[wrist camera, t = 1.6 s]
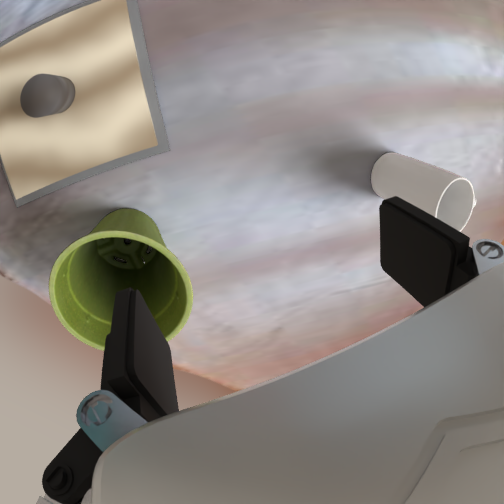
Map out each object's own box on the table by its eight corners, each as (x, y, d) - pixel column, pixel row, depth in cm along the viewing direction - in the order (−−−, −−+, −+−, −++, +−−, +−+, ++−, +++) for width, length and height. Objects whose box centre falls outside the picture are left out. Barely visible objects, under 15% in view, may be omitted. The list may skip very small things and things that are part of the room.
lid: (-15, 61, 18) (-46, 58, 12) (125, -4, 20) (117, -26, 15) (20, 196, 26) (-5, 218, 21) (158, 143, 28) (156, 154, 23)
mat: (-21, 58, 17) (-23, 57, 17) (134, -13, 20) (134, -15, 20) (18, 206, 27) (16, 207, 26) (170, 149, 29) (170, 150, 29)
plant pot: (89, 290, 34) (73, 359, 24) (68, 193, 28) (31, 240, 18) (186, 280, 36) (198, 348, 27) (179, 181, 31) (187, 223, 21)
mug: (365, 200, 38) (428, 241, 28) (371, 148, 35) (442, 176, 25) (419, 198, 40) (480, 233, 30) (426, 153, 37) (493, 179, 27)
